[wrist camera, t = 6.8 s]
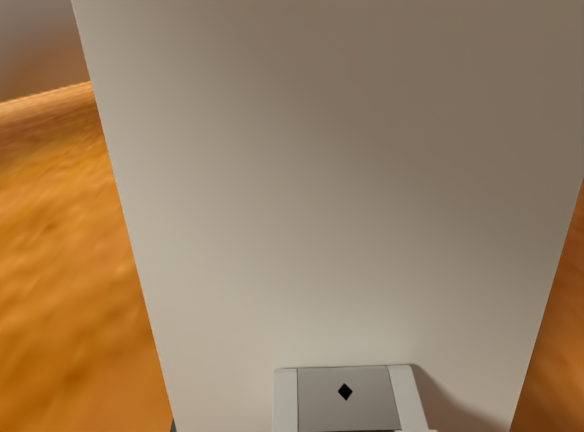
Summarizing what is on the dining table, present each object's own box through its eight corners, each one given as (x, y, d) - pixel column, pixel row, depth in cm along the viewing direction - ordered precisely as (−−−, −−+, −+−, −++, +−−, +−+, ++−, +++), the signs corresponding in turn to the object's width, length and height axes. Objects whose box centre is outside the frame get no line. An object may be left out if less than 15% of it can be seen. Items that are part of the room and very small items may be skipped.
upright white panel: (588, 619, 13) (1137, -285, 4) (194, 632, 13) (-80, -227, 4) (482, 376, 20) (604, -156, 11) (226, 385, 20) (146, -136, 11)
